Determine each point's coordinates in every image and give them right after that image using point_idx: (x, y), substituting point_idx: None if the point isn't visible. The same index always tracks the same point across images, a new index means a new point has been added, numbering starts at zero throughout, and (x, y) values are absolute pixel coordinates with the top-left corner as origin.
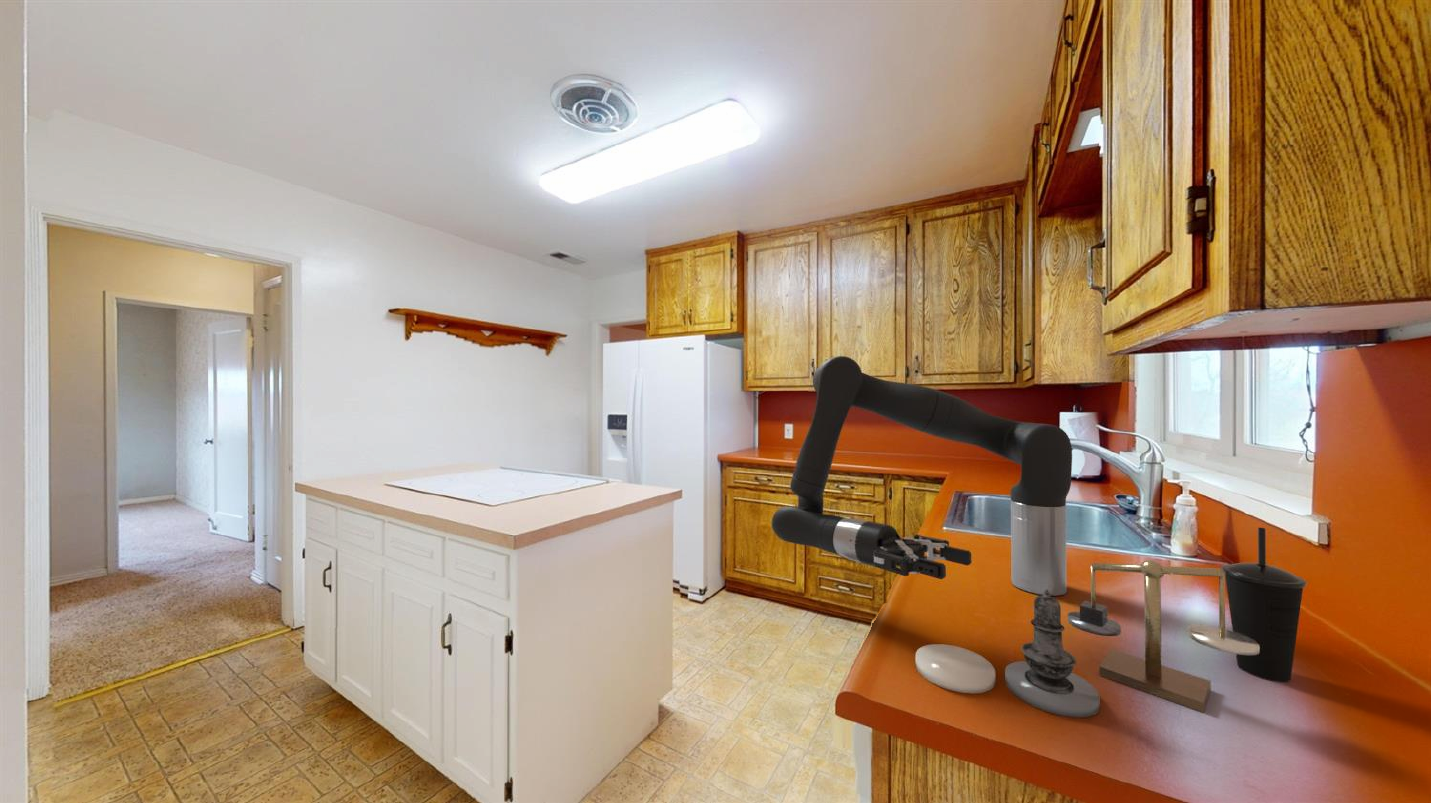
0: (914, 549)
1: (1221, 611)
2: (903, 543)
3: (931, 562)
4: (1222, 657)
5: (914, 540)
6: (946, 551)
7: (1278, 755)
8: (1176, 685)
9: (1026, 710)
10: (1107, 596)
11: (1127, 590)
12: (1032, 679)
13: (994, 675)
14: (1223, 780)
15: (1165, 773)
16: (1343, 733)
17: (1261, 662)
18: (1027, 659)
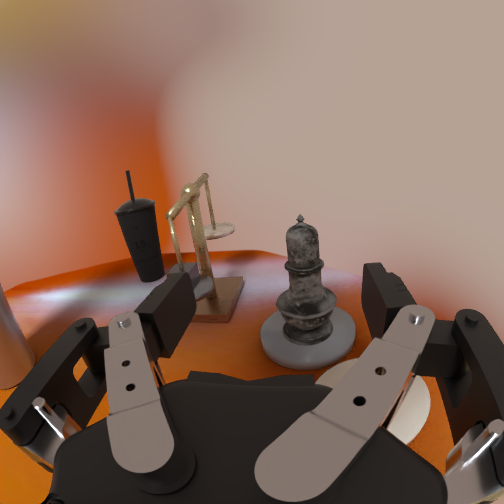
0: (281, 386)
1: (211, 208)
2: (315, 420)
3: (390, 279)
4: (138, 286)
5: (153, 401)
6: (160, 327)
7: (270, 266)
8: (224, 285)
9: (368, 335)
10: (36, 329)
11: (26, 320)
12: (326, 332)
13: (351, 359)
14: (327, 271)
15: (352, 281)
16: (217, 259)
17: (161, 265)
18: (327, 315)
